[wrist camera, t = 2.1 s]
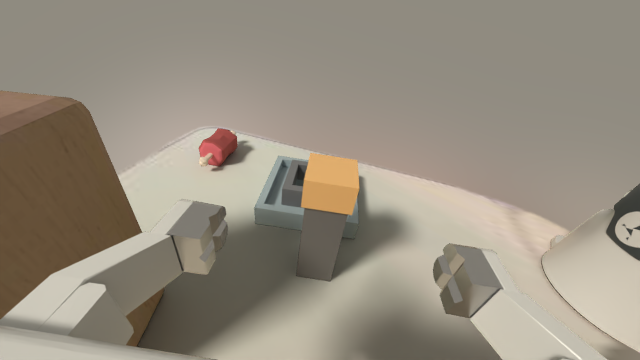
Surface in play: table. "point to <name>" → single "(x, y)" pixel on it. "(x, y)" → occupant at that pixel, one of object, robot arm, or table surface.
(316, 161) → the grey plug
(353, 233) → the box
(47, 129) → the wooden block
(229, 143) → the meat
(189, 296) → the table surface
